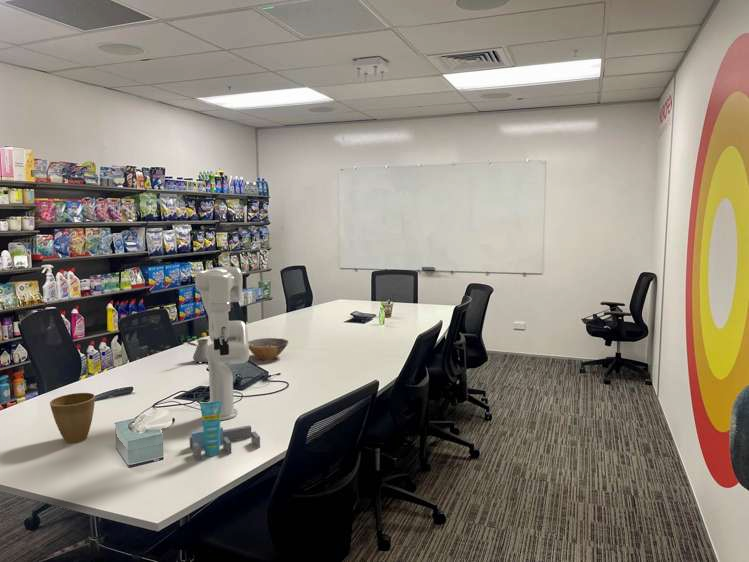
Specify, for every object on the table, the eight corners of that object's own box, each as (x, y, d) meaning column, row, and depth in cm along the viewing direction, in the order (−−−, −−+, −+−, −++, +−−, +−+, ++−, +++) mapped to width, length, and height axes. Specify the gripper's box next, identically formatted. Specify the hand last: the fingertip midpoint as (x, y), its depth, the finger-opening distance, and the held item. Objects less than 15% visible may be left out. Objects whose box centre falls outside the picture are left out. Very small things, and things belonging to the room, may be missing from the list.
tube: (202, 458, 190) (200, 404, 188) (200, 452, 195) (199, 400, 193) (224, 454, 193) (222, 401, 191) (222, 449, 198) (220, 397, 196)
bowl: (297, 356, 331) (296, 340, 330) (268, 365, 311) (268, 348, 309) (266, 351, 345) (266, 335, 344) (237, 359, 324) (236, 343, 323)
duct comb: (189, 446, 200) (189, 431, 199) (250, 435, 211) (249, 420, 210) (196, 460, 188) (196, 443, 188) (260, 447, 199) (259, 431, 199)
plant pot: (87, 428, 217) (84, 390, 215) (104, 438, 207) (101, 397, 206) (46, 440, 205) (43, 399, 204) (62, 451, 196) (59, 408, 194)
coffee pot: (200, 358, 327) (199, 334, 325) (217, 359, 324) (216, 335, 322) (178, 367, 306) (177, 341, 305) (196, 369, 303) (195, 343, 302)
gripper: (204, 304, 209) (206, 348, 211) (215, 311, 194) (216, 358, 196) (224, 303, 212) (225, 346, 214) (236, 309, 197) (237, 355, 199)
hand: (221, 352), depth 205 cm, fingers open, 9 cm apart
